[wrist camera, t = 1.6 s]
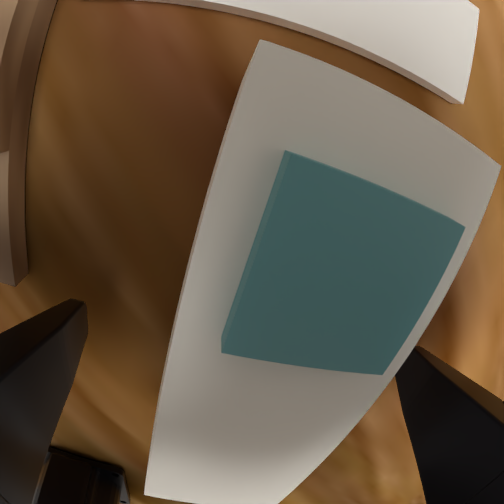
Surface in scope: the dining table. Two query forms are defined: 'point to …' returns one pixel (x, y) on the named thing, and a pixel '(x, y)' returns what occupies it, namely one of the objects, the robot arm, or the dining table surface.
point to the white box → (306, 276)
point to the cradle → (17, 121)
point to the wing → (380, 33)
